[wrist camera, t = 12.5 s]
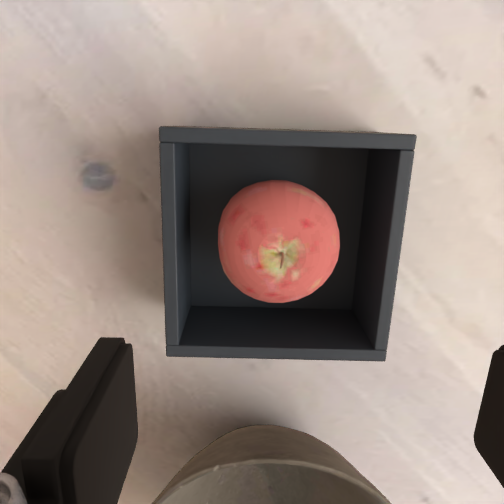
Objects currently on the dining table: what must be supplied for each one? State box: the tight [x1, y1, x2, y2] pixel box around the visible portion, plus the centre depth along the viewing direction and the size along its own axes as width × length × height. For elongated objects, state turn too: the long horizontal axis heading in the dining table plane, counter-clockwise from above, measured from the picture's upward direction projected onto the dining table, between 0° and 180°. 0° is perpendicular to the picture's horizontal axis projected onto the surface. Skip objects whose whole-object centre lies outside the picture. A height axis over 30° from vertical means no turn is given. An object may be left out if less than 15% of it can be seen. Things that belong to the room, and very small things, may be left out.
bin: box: [159, 126, 416, 361], centre depth 27 cm, size 14×14×7 cm
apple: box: [218, 180, 340, 303], centre depth 26 cm, size 7×7×8 cm
